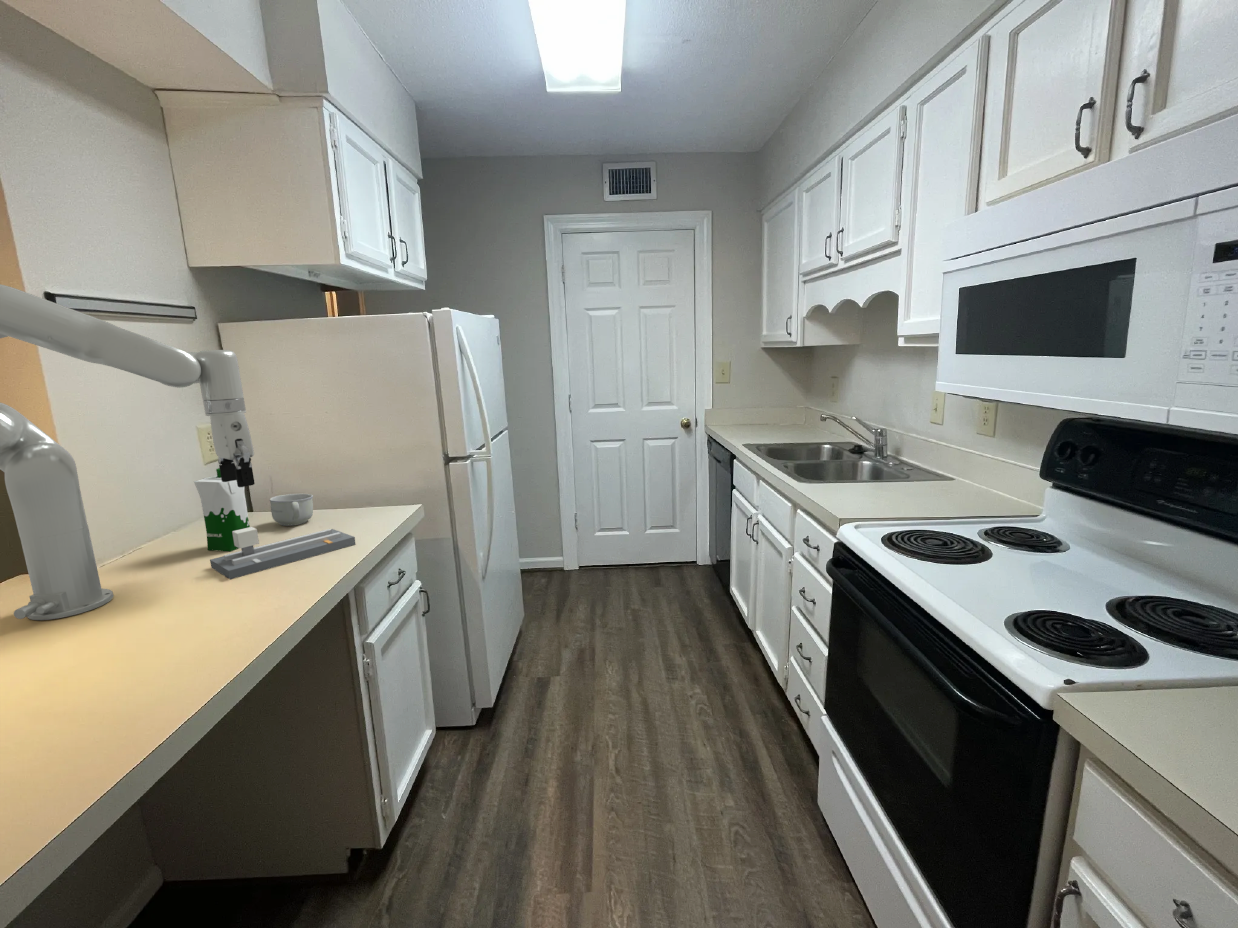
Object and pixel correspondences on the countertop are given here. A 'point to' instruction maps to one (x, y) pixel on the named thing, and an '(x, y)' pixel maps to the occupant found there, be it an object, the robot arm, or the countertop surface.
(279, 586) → the countertop surface
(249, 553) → the fader
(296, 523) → the teacup
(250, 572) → the fader panel
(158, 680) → the countertop surface
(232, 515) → the milk carton
